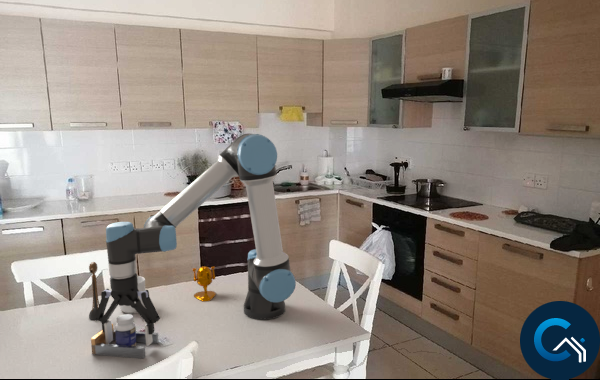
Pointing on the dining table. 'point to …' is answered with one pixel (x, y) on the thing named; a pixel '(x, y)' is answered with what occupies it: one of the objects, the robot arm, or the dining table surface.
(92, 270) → the wooden tabletop sculpture
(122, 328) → the pill bottle
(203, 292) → the gold trophy cup
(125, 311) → the mug
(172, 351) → the dining table surface
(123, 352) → the rail cradle
